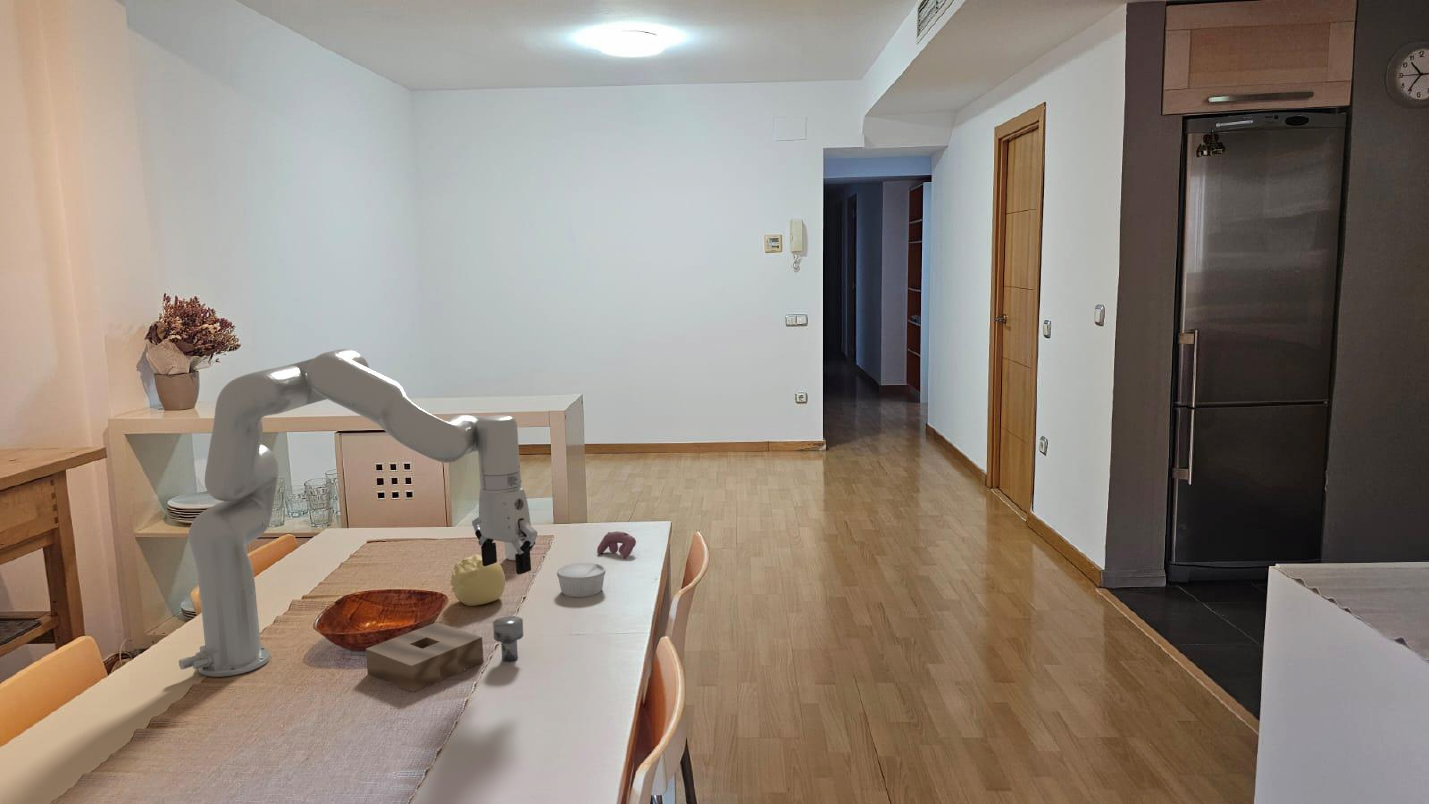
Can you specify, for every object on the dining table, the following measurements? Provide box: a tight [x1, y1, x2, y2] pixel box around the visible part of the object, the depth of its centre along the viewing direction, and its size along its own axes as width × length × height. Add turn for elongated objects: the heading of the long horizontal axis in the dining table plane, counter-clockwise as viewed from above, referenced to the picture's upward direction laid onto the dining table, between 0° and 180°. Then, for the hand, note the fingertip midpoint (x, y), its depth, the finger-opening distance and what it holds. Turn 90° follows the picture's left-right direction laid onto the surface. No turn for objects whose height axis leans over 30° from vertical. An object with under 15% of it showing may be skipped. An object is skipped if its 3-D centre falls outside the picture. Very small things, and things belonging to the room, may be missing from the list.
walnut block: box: [365, 621, 485, 693], centre depth 180 cm, size 16×14×5 cm
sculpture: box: [450, 553, 506, 607], centre depth 216 cm, size 12×12×11 cm
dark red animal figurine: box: [596, 530, 637, 559], centre depth 250 cm, size 10×5×7 cm, turn 58°
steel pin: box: [492, 615, 524, 663], centre depth 184 cm, size 6×6×8 cm
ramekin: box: [556, 562, 606, 598], centre depth 222 cm, size 11×11×5 cm
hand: (506, 568), depth 182 cm, fingers open, 9 cm apart
